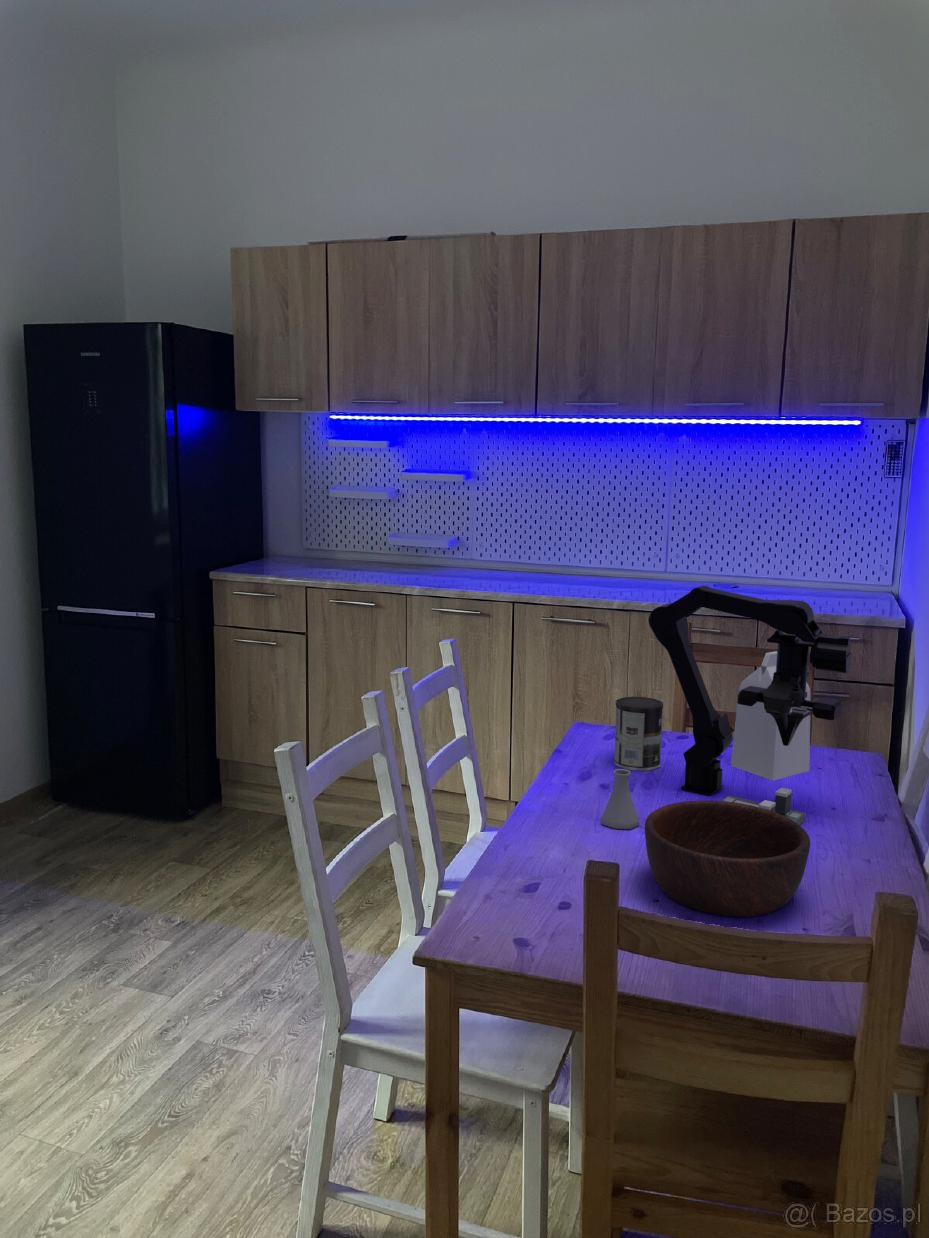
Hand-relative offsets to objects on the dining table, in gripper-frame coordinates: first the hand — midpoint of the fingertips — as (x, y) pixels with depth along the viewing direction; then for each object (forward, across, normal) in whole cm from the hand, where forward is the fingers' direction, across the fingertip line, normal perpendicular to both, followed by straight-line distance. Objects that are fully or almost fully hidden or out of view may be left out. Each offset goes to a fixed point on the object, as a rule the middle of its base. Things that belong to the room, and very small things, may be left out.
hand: (786, 745), depth 188 cm
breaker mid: (+10, +3, -17) cm, 20 cm away
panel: (+12, -1, -17) cm, 21 cm away
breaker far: (+10, +3, -9) cm, 14 cm away
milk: (+12, -10, +20) cm, 26 cm away
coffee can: (+12, -34, +4) cm, 36 cm away
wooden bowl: (+12, +6, -43) cm, 45 cm away
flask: (+12, -20, -29) cm, 37 cm away
